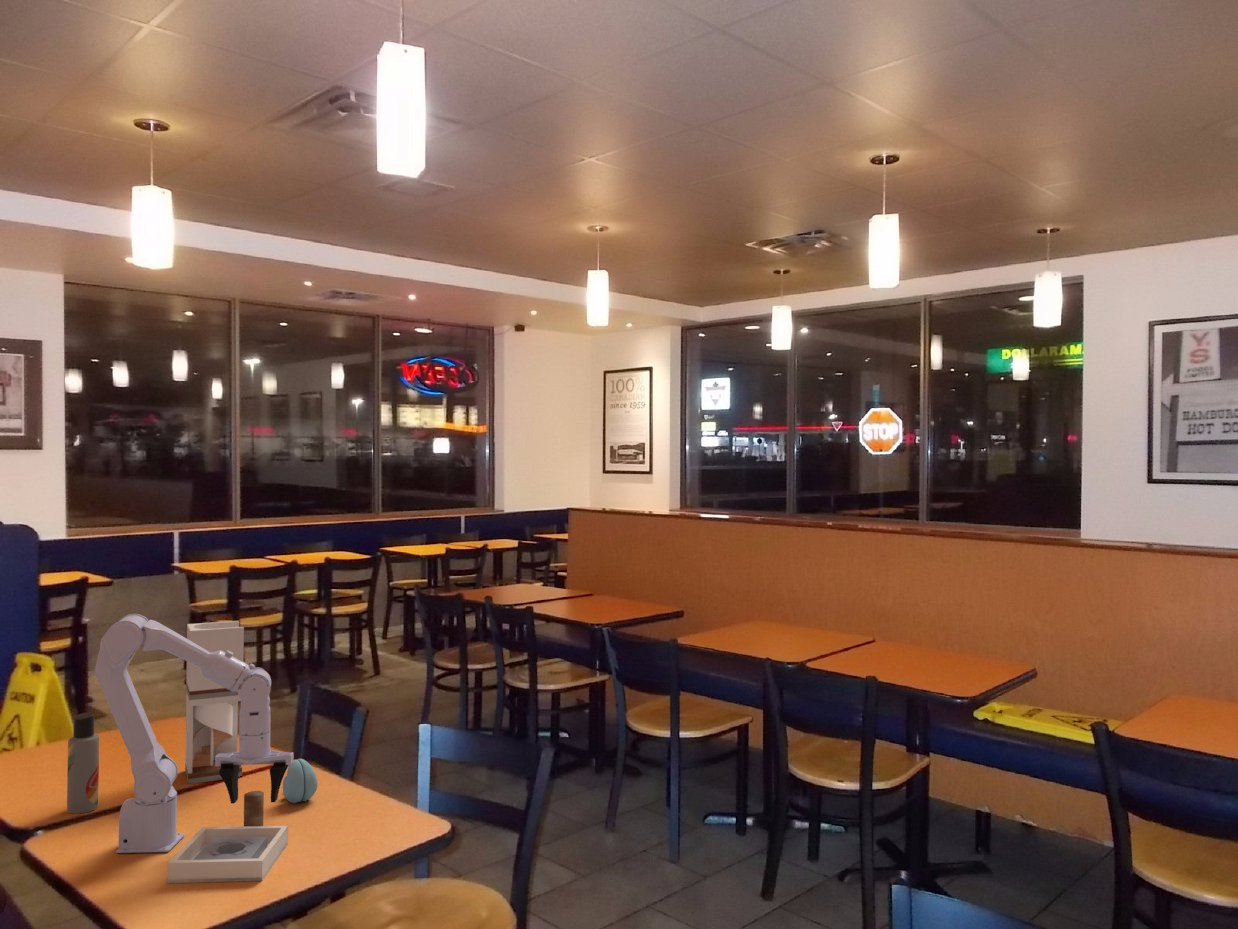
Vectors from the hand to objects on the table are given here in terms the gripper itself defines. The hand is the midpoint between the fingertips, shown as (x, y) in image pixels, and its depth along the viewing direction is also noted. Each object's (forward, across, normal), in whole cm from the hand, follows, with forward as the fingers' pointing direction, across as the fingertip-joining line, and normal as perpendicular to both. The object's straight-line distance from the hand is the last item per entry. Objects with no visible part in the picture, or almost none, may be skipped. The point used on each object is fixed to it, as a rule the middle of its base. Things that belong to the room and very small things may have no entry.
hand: (254, 801), depth 180 cm
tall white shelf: (+7, -21, +38) cm, 44 cm away
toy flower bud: (+7, +3, +20) cm, 22 cm away
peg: (+7, 0, 0) cm, 7 cm away
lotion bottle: (+7, -40, +16) cm, 44 cm away
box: (+7, 0, -13) cm, 15 cm away
